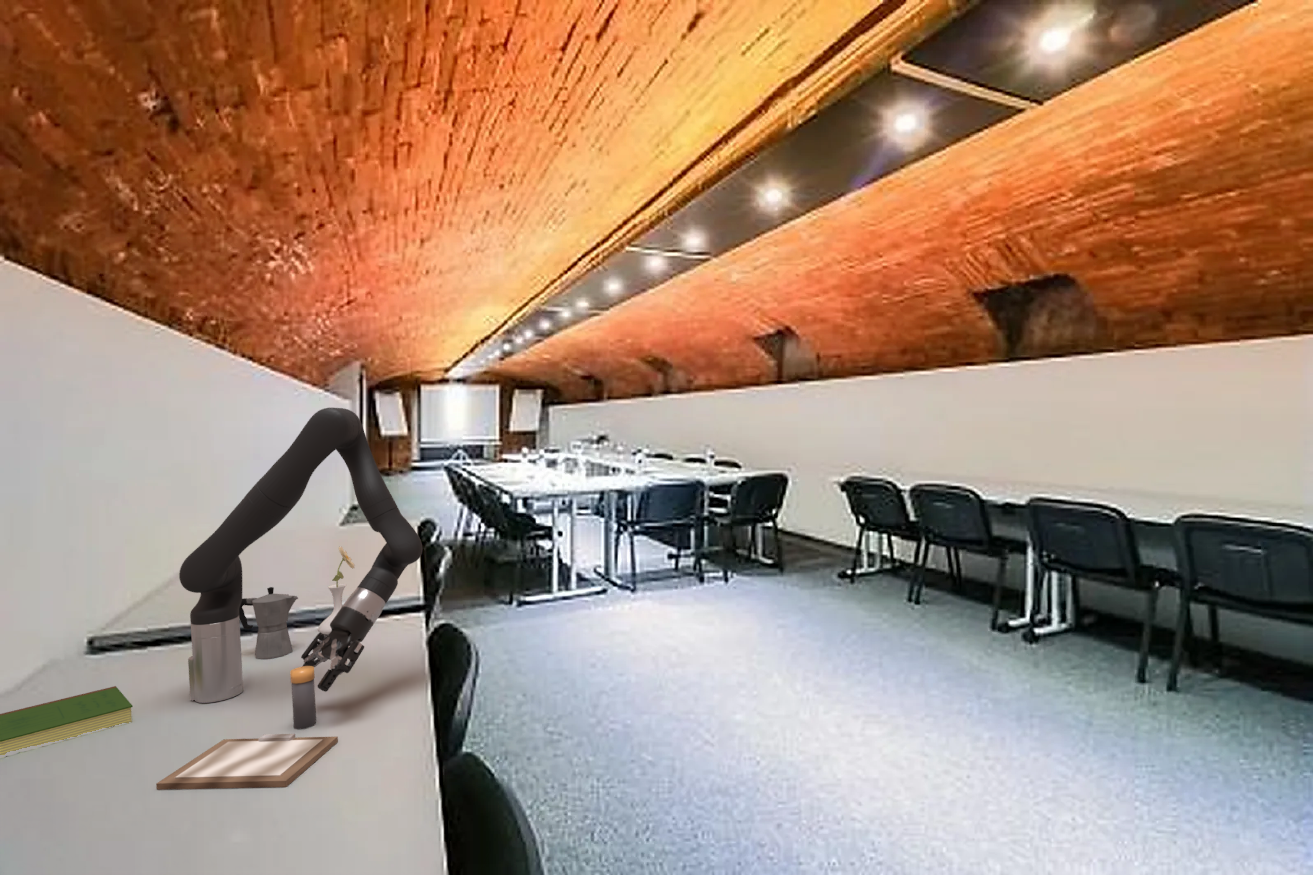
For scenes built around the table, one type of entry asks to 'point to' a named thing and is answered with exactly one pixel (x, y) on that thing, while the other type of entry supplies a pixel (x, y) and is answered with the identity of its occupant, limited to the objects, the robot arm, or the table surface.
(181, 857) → the table surface
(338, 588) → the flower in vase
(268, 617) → the coffeepot
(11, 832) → the table surface
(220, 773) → the clipboard
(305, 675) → the orange and grey cylinder
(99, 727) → the hardcover book
